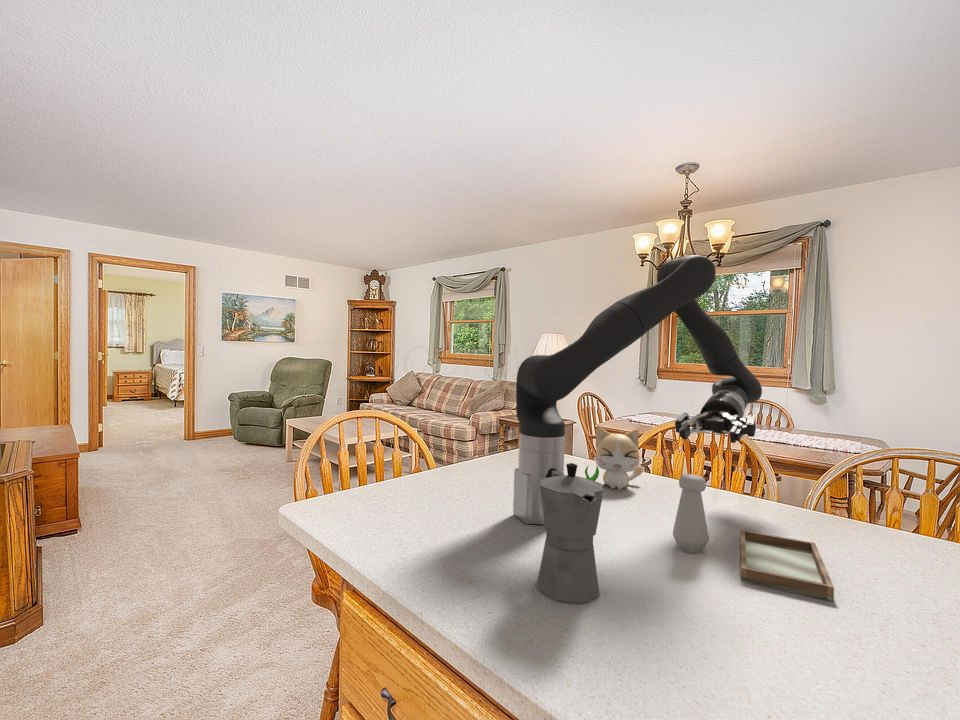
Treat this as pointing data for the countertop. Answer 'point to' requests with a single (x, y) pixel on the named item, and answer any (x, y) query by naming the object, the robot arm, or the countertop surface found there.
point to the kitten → (617, 457)
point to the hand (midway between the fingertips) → (707, 436)
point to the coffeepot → (569, 536)
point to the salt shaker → (691, 516)
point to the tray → (784, 565)
